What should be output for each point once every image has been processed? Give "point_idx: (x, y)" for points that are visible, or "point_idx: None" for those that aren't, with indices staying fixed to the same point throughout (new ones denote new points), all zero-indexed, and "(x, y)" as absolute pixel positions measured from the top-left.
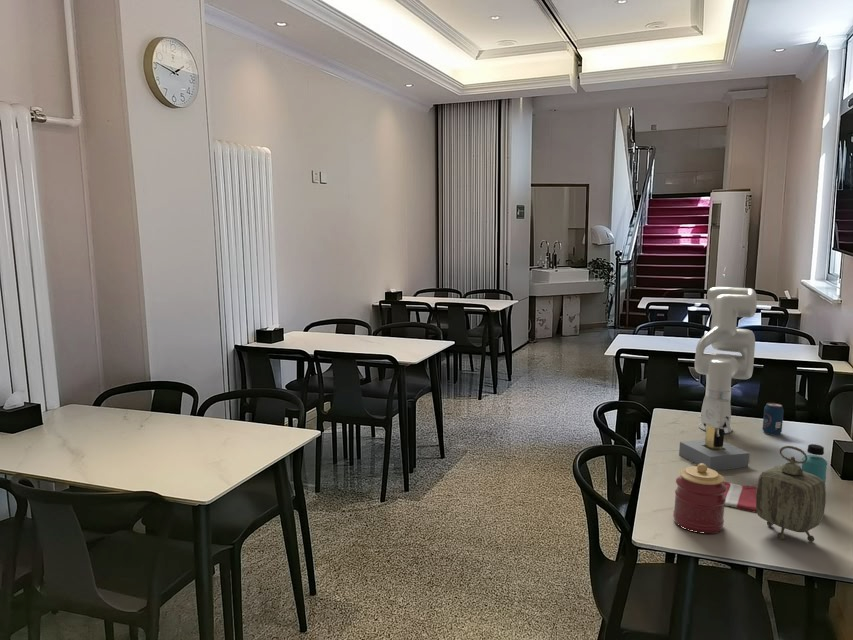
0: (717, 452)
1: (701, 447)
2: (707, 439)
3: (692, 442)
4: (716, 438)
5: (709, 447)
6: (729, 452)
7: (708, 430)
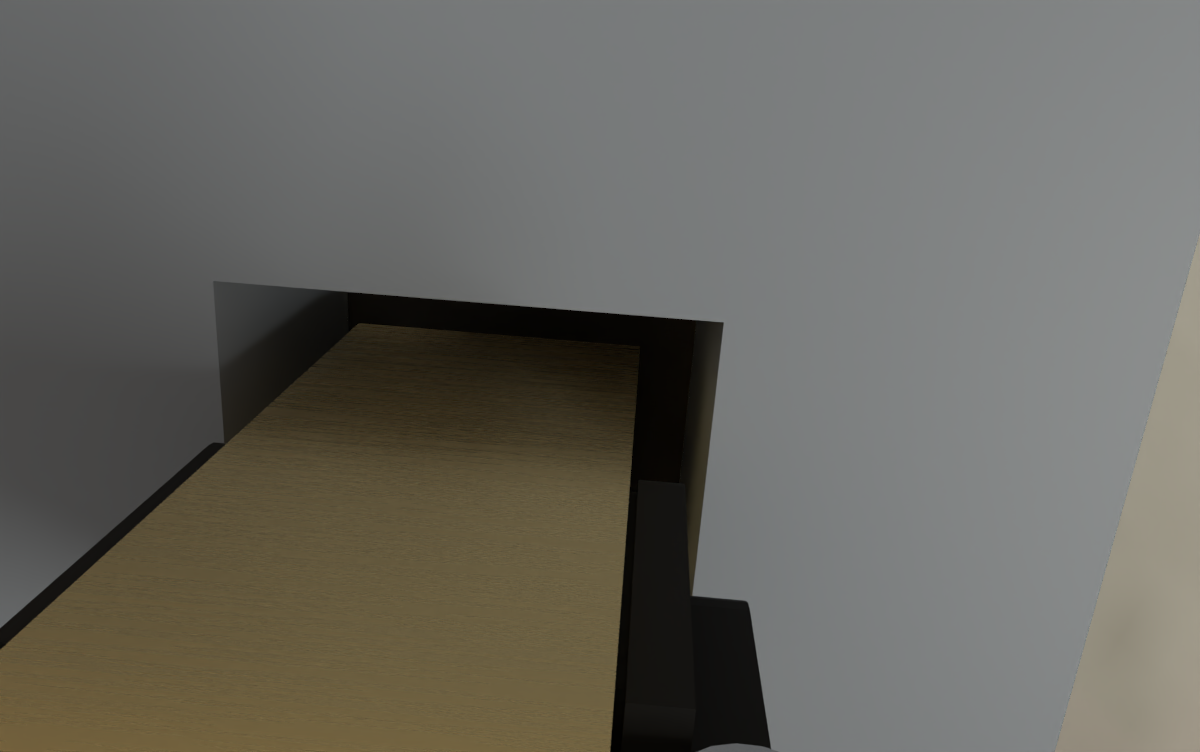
0: (56, 301)
1: (545, 177)
2: (532, 491)
3: (1024, 254)
4: (52, 598)
5: (449, 387)
6: (24, 594)
7: (440, 738)
